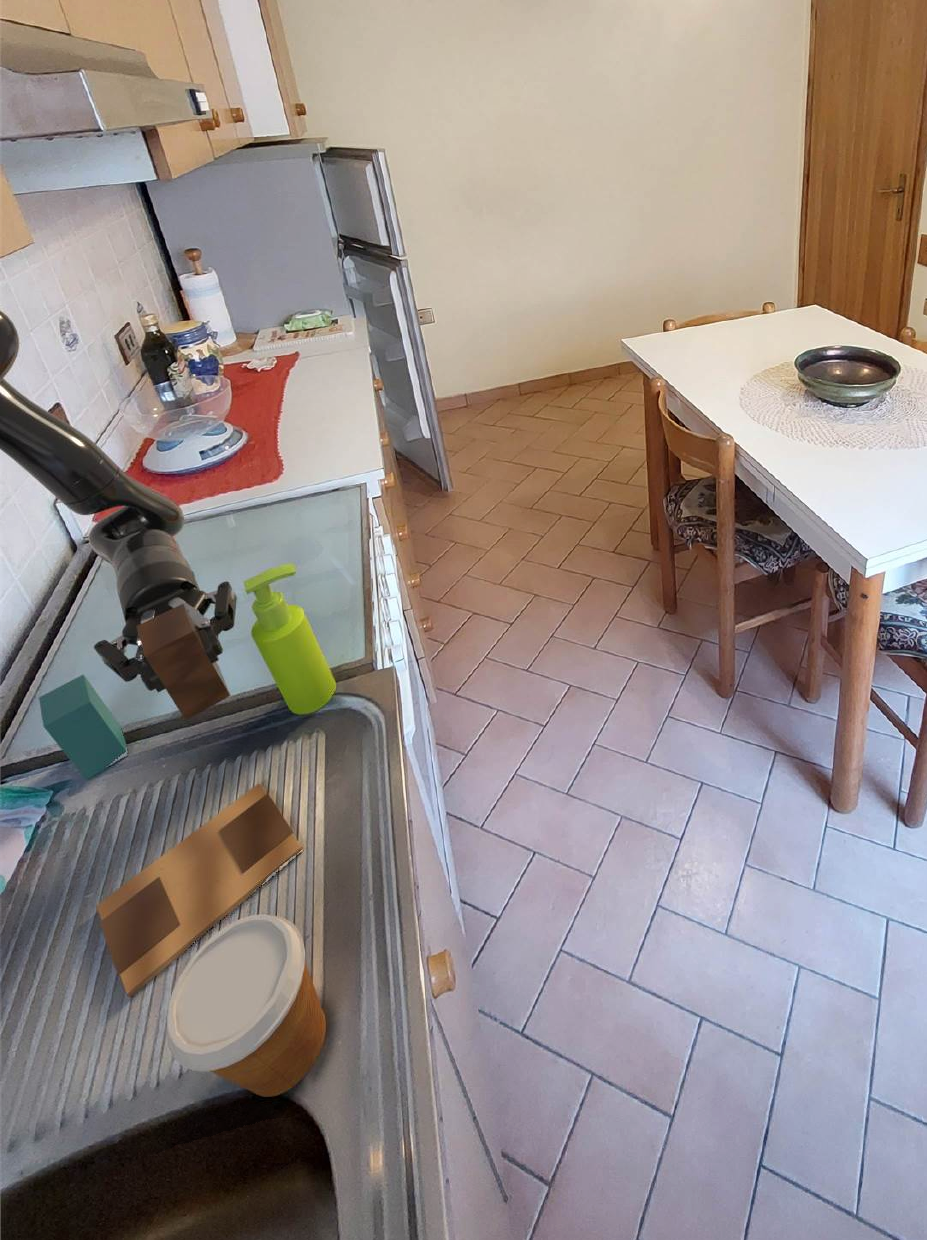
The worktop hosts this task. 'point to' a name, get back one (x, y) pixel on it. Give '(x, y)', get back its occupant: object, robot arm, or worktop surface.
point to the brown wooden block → (182, 661)
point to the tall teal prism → (82, 726)
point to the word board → (194, 887)
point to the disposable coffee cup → (248, 1007)
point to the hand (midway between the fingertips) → (185, 669)
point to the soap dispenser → (289, 645)
